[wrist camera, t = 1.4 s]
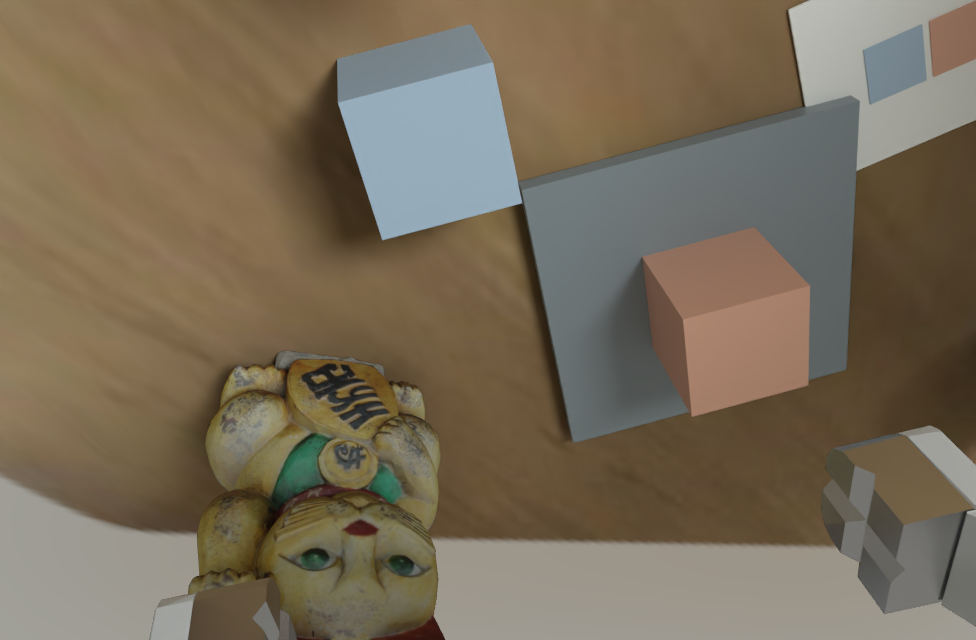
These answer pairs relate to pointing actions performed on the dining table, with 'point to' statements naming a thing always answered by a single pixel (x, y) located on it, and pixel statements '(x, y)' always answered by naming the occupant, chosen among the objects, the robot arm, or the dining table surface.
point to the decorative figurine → (325, 497)
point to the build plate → (682, 221)
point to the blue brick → (428, 131)
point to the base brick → (728, 320)
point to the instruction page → (890, 66)
